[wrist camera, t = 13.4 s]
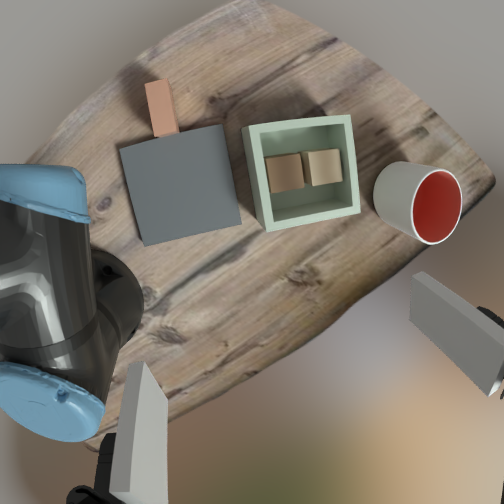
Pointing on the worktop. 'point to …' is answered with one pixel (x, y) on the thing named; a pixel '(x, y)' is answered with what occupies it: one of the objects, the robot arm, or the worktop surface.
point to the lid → (179, 175)
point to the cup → (418, 200)
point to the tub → (311, 197)
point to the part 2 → (321, 166)
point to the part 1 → (284, 172)
